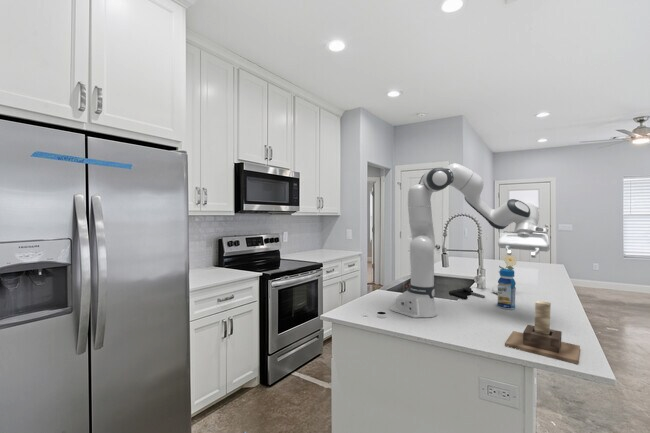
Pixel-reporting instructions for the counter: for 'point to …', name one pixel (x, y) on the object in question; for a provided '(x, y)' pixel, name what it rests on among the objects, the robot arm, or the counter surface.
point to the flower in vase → (509, 261)
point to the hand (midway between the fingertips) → (520, 255)
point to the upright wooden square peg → (542, 317)
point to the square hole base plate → (544, 344)
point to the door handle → (464, 293)
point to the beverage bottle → (506, 289)
